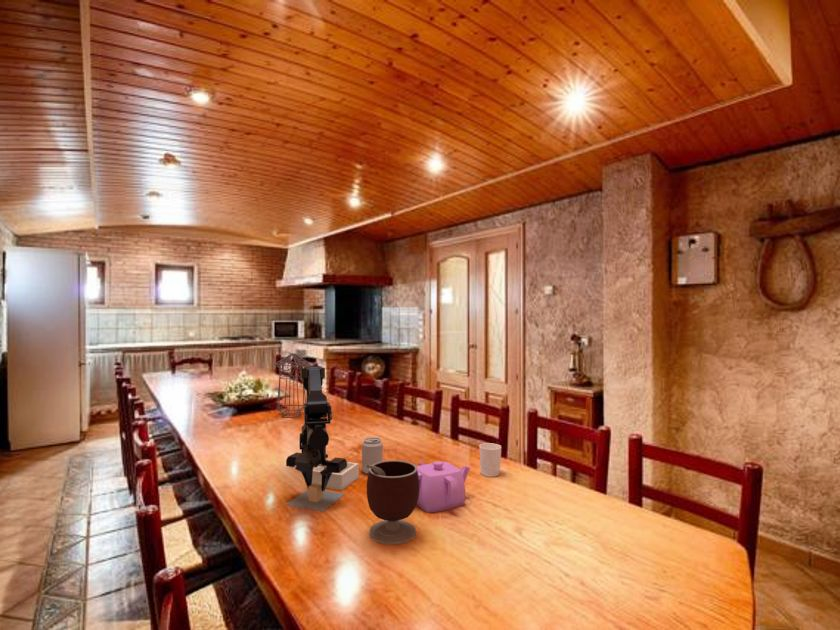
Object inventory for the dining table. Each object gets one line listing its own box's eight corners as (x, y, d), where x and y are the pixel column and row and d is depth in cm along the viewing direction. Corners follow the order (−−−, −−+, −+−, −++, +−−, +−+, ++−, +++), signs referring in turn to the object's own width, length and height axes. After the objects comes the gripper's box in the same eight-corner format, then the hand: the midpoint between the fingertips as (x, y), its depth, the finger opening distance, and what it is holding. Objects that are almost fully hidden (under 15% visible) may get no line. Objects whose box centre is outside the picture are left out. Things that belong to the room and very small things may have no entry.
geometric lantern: (272, 418, 244) (272, 354, 243) (285, 412, 259) (285, 352, 259) (299, 419, 241) (299, 355, 241) (311, 413, 256) (311, 352, 256)
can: (379, 476, 159) (379, 442, 159) (358, 474, 161) (359, 441, 161) (384, 469, 167) (385, 436, 167) (365, 467, 168) (365, 435, 168)
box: (310, 485, 150) (310, 470, 150) (328, 473, 162) (328, 459, 162) (341, 490, 146) (341, 475, 146) (358, 477, 158) (358, 463, 158)
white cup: (503, 471, 165) (503, 444, 165) (497, 479, 158) (498, 450, 157) (482, 468, 168) (483, 441, 168) (476, 475, 161) (476, 447, 161)
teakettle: (403, 510, 133) (403, 468, 132) (419, 488, 149) (419, 451, 149) (459, 518, 128) (460, 474, 128) (470, 494, 144) (470, 456, 144)
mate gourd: (395, 515, 129) (395, 446, 128) (429, 533, 119) (430, 457, 119) (350, 534, 118) (351, 458, 118) (384, 555, 108) (385, 472, 108)
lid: (285, 507, 135) (285, 489, 135) (309, 491, 148) (309, 474, 148) (323, 514, 131) (323, 495, 131) (345, 497, 143) (345, 479, 143)
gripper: (275, 443, 135) (274, 495, 135) (329, 450, 128) (329, 504, 129) (296, 434, 145) (296, 482, 145) (348, 440, 139) (347, 490, 139)
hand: (316, 489), depth 139 cm, fingers open, 5 cm apart
